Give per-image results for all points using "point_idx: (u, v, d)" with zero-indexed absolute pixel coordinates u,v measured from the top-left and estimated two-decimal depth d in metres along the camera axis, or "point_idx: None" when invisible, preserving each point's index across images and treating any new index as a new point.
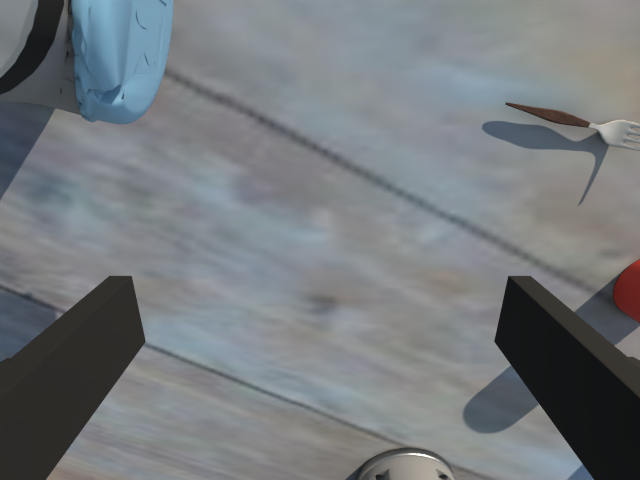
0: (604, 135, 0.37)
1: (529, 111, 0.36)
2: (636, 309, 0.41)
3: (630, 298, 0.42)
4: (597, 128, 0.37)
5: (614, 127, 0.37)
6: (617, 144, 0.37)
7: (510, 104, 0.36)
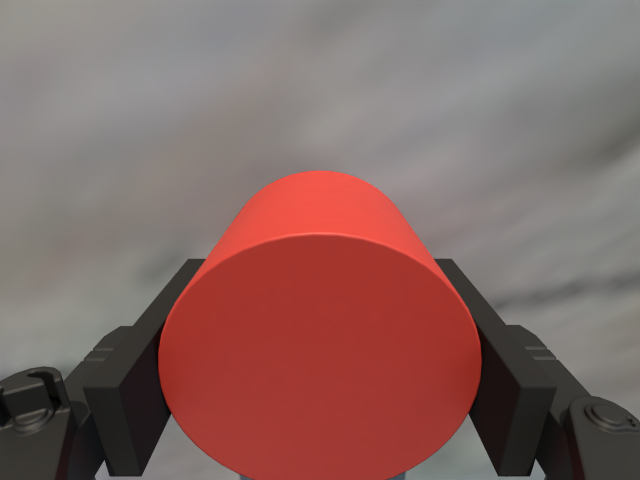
0: None
1: None
2: None
3: None
4: None
5: None
6: None
7: None
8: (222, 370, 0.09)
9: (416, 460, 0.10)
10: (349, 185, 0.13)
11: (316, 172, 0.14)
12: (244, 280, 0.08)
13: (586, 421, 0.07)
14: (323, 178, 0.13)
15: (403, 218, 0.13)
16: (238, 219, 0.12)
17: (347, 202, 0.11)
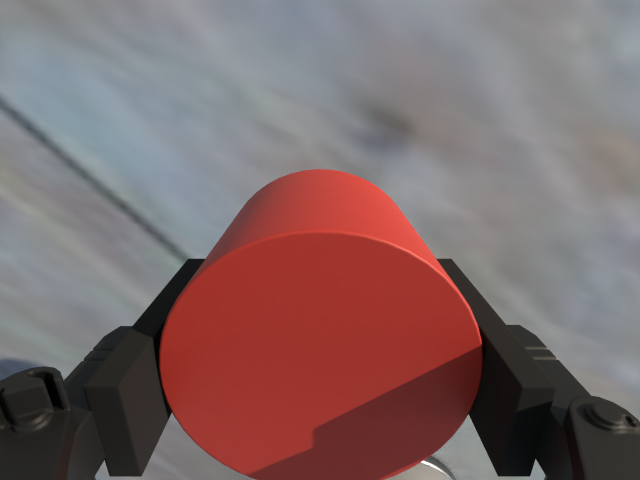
0: None
1: None
2: None
3: None
4: None
5: None
6: None
7: None
8: (222, 369, 0.09)
9: (417, 459, 0.10)
10: (350, 183, 0.13)
11: (317, 171, 0.14)
12: (245, 278, 0.08)
13: (586, 421, 0.07)
14: (324, 176, 0.13)
15: (404, 217, 0.13)
16: (239, 217, 0.12)
17: (349, 200, 0.11)
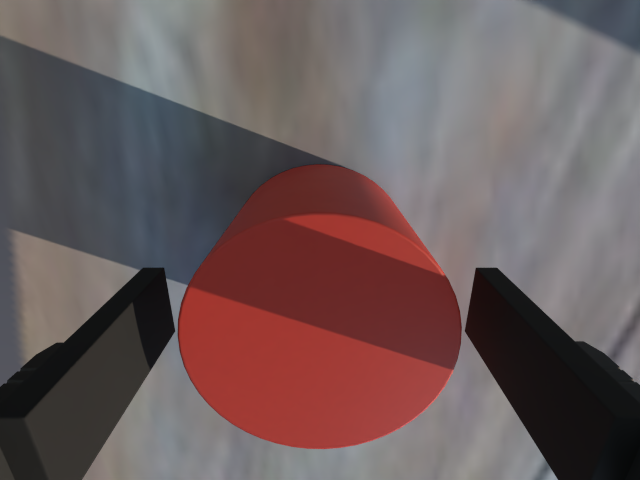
0: None
1: None
2: None
3: None
4: None
5: None
6: None
7: None
8: (233, 336, 0.11)
9: (405, 419, 0.12)
10: (346, 176, 0.14)
11: (316, 165, 0.16)
12: (254, 254, 0.10)
13: None
14: (322, 170, 0.15)
15: (395, 206, 0.14)
16: (246, 206, 0.13)
17: (344, 190, 0.12)
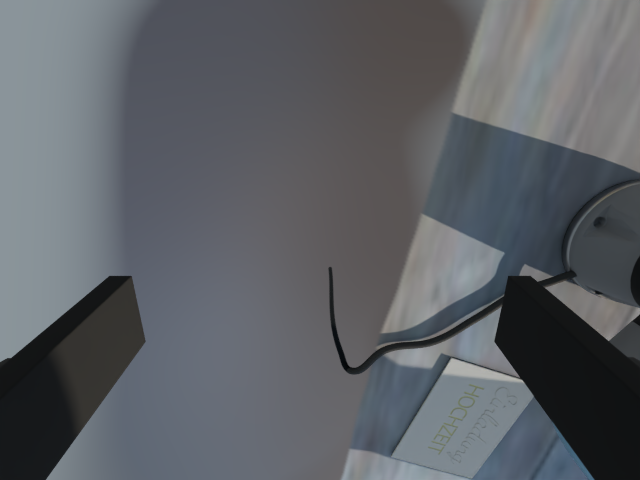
0: None
1: None
2: None
3: None
4: None
5: None
6: None
7: None
8: None
9: None
10: None
11: None
12: None
13: None
14: None
15: None
16: None
17: None
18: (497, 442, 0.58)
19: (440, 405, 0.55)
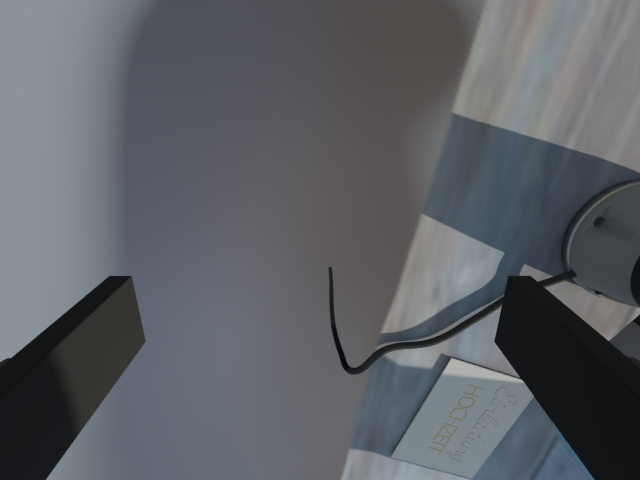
0: None
1: None
2: None
3: None
4: None
5: None
6: None
7: None
8: None
9: None
10: None
11: None
12: None
13: None
14: None
15: None
16: None
17: None
18: (497, 442, 0.58)
19: (440, 405, 0.55)
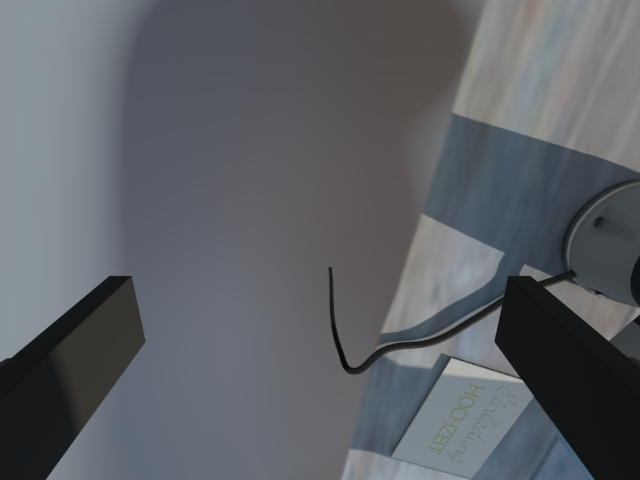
0: None
1: None
2: None
3: None
4: None
5: None
6: None
7: None
8: None
9: None
10: None
11: None
12: None
13: None
14: None
15: None
16: None
17: None
18: (497, 442, 0.58)
19: (440, 405, 0.55)
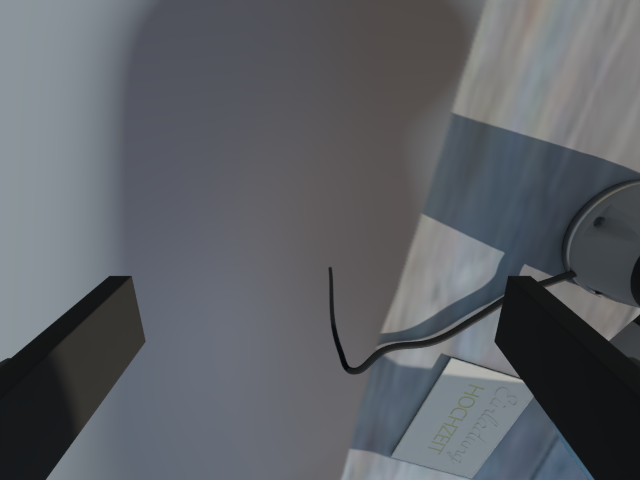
0: None
1: None
2: None
3: None
4: None
5: None
6: None
7: None
8: None
9: None
10: None
11: None
12: None
13: None
14: None
15: None
16: None
17: None
18: (497, 442, 0.58)
19: (440, 405, 0.55)
